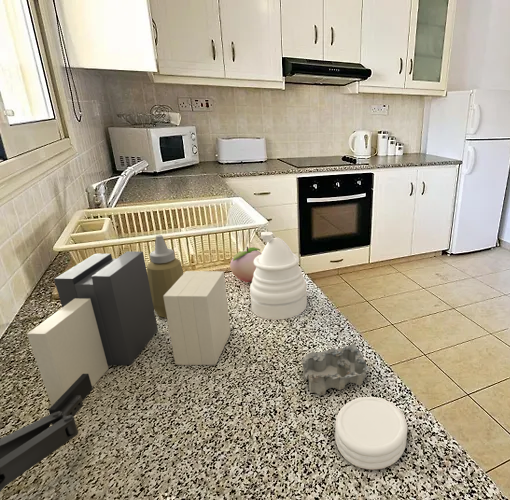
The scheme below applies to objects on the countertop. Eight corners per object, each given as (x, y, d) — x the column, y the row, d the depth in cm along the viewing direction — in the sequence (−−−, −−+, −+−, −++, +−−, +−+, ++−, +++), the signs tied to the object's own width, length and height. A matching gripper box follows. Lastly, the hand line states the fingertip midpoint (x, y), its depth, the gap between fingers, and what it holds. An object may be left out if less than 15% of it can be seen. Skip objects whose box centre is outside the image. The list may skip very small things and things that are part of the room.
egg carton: (310, 399, 60) (309, 379, 58) (299, 370, 67) (299, 350, 65) (371, 384, 63) (372, 365, 62) (355, 358, 70) (356, 339, 68)
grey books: (78, 364, 66) (52, 275, 60) (113, 330, 77) (94, 250, 70) (130, 364, 67) (109, 276, 60) (158, 330, 77) (143, 251, 70)
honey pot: (257, 324, 80) (251, 245, 73) (246, 297, 90) (240, 227, 84) (314, 312, 85) (313, 238, 78) (298, 288, 95) (296, 221, 89)
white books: (175, 364, 67) (162, 296, 62) (195, 333, 76) (185, 270, 71) (215, 365, 67) (206, 296, 62) (230, 333, 76) (224, 271, 71)
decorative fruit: (253, 292, 93) (251, 255, 89) (226, 286, 96) (222, 250, 92) (274, 277, 101) (272, 243, 98) (248, 272, 104) (245, 238, 100)
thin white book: (53, 412, 56) (26, 333, 51) (94, 368, 65) (74, 298, 60) (70, 412, 56) (45, 333, 51) (108, 368, 66) (90, 298, 60)
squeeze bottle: (143, 316, 82) (127, 239, 75) (172, 299, 89) (160, 227, 82) (171, 324, 79) (157, 245, 72) (199, 307, 86) (188, 233, 79)
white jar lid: (364, 486, 46) (365, 466, 45) (321, 432, 54) (321, 413, 53) (420, 447, 52) (423, 428, 51) (375, 403, 59) (376, 385, 58)
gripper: (-280, 583, 33) (-46, 402, 52) (13, 578, 33) (134, 402, 53) (-335, 526, 30) (-67, 358, 50) (-15, 523, 31) (124, 359, 50)
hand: (37, 381), depth 52 cm, fingers open, 13 cm apart
